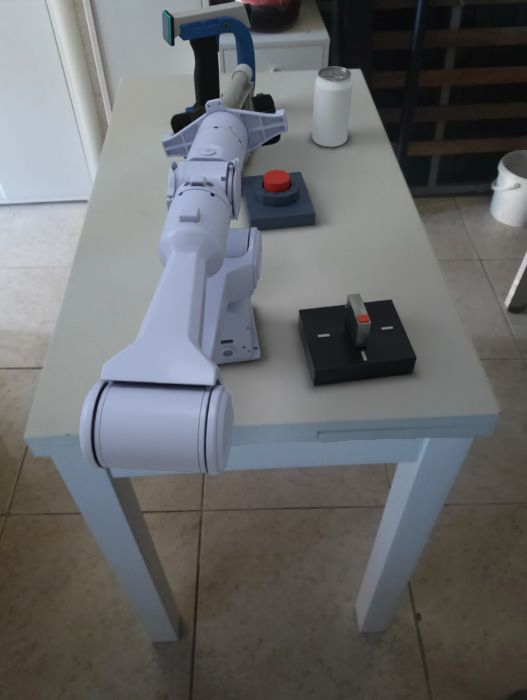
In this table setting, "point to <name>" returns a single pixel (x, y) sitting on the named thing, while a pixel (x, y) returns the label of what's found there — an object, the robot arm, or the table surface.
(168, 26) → the handheld scanner
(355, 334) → the dial
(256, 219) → the button box
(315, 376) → the control panel
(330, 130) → the can
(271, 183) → the power button
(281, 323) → the table surface
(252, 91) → the geiger counter
